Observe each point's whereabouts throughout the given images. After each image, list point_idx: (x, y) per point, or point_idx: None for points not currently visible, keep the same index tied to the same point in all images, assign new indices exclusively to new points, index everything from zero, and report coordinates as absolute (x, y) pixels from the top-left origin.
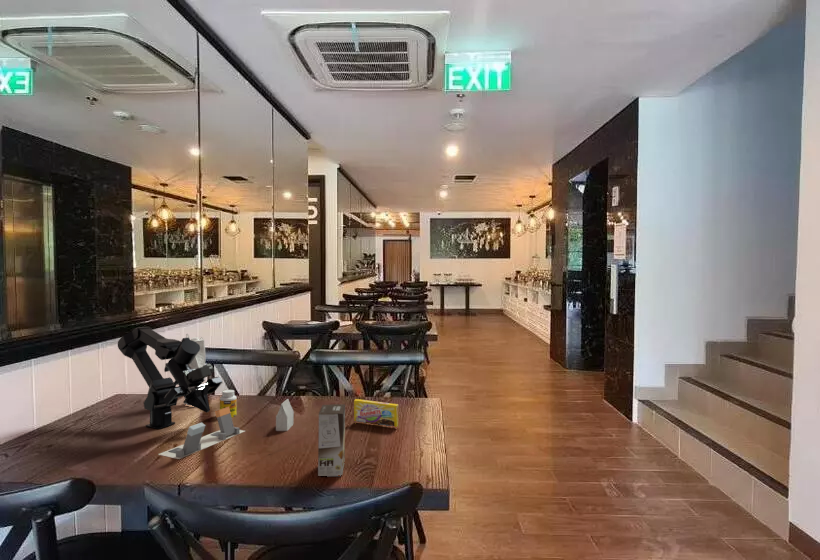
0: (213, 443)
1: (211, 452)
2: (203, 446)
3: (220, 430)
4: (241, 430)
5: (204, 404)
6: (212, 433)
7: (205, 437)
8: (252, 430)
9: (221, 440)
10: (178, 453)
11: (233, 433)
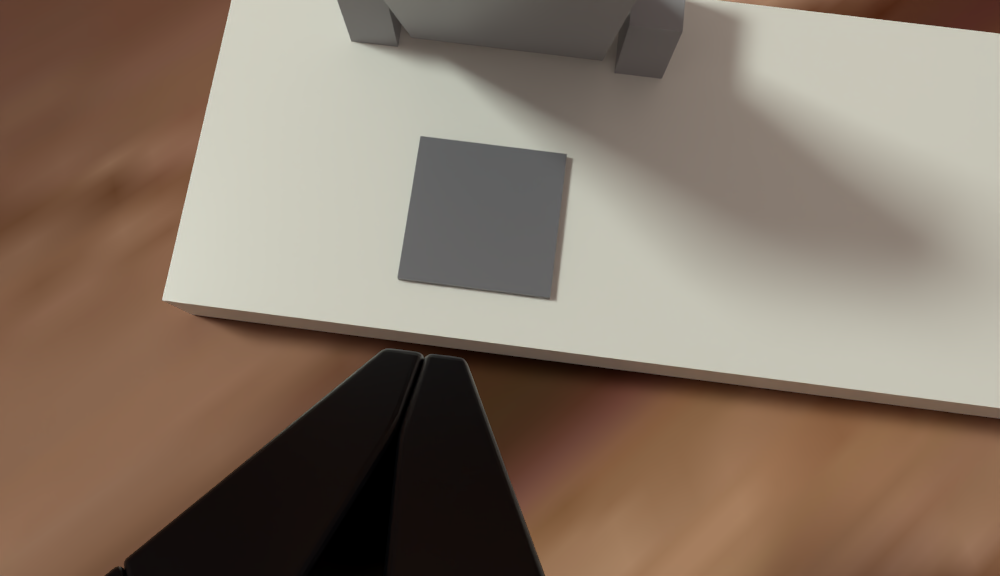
0: (818, 38)
1: (894, 20)
2: (960, 85)
3: (613, 35)
4: (240, 7)
5: (465, 500)
6: (476, 320)
7: (662, 301)
8: (47, 22)
9: (687, 11)
10: None
11: (399, 22)
